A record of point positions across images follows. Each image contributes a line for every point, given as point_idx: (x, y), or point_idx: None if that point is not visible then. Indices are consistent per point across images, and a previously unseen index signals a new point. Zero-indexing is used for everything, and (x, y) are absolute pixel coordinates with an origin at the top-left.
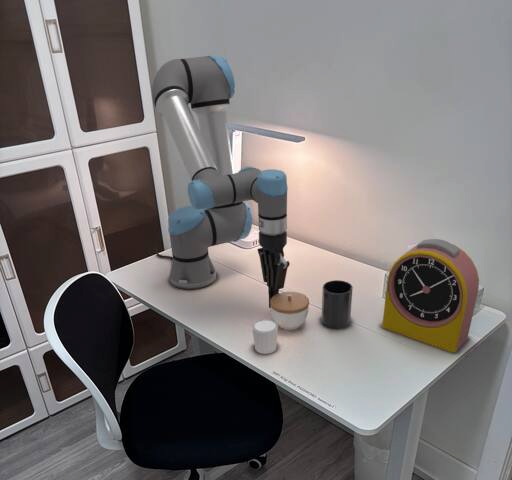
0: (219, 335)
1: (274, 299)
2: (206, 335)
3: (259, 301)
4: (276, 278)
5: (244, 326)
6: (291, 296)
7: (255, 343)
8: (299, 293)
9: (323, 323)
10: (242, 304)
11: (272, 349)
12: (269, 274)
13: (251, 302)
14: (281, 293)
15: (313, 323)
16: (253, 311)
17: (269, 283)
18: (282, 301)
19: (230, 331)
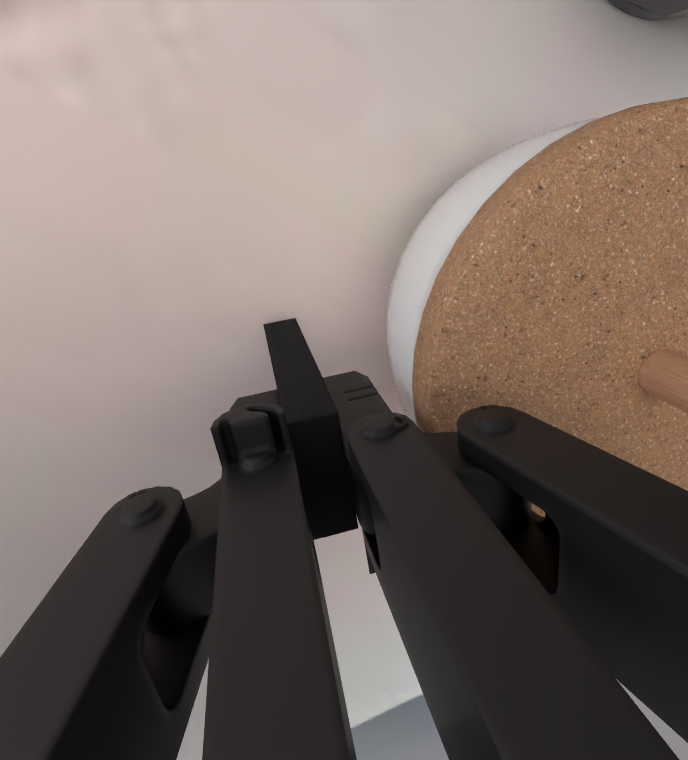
0: (383, 679)
1: (541, 513)
2: (352, 727)
3: (29, 387)
4: (666, 696)
5: (361, 562)
6: (611, 316)
7: None
8: (605, 163)
9: (664, 16)
10: (47, 522)
11: None
12: (352, 741)
13: (30, 453)
14: (467, 402)
15: (586, 97)
16: (193, 473)
17: (320, 577)
18: (632, 453)
19: (374, 632)
